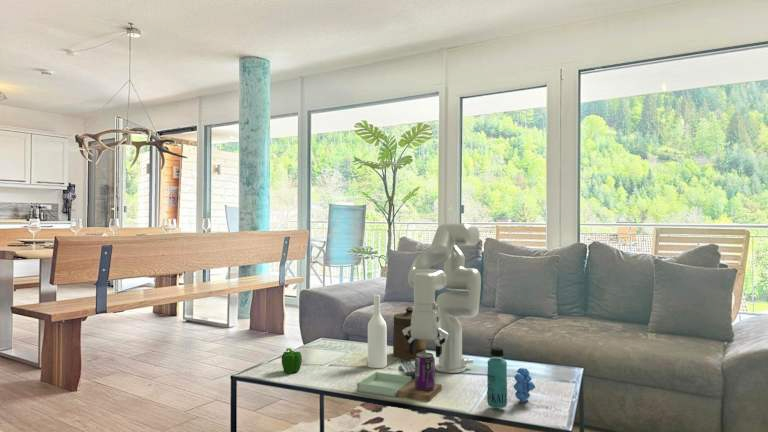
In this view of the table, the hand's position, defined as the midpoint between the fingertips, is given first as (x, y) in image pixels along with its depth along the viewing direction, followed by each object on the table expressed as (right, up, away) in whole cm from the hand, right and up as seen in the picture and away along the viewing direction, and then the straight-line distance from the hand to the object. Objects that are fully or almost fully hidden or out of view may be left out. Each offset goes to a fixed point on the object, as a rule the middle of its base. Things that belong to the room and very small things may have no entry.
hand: (425, 354), depth 186 cm
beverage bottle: (+22, -14, -16) cm, 31 cm away
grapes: (+33, -14, -10) cm, 37 cm away
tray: (-15, -14, +6) cm, 21 cm away
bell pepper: (-53, -14, +27) cm, 61 cm away
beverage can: (0, -12, -1) cm, 12 cm away
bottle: (-18, -14, +35) cm, 41 cm away
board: (-2, -14, 0) cm, 14 cm away
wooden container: (-3, -14, +51) cm, 53 cm away
